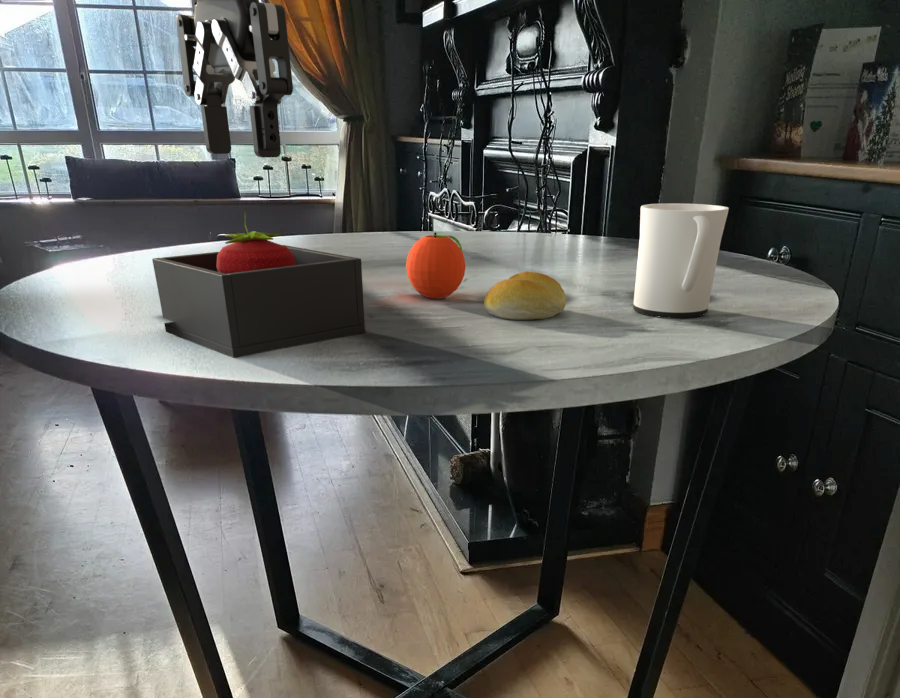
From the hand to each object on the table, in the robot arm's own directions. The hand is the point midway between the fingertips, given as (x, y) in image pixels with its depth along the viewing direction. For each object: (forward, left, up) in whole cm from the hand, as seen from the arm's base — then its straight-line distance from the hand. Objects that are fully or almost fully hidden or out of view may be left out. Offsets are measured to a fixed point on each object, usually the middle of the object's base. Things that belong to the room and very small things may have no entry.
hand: (243, 155), depth 69 cm
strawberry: (0, 0, -15) cm, 15 cm away
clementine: (+25, +2, -16) cm, 30 cm away
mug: (+38, -22, -16) cm, 47 cm away
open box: (0, 0, -15) cm, 15 cm away
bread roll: (+26, -11, -16) cm, 32 cm away
